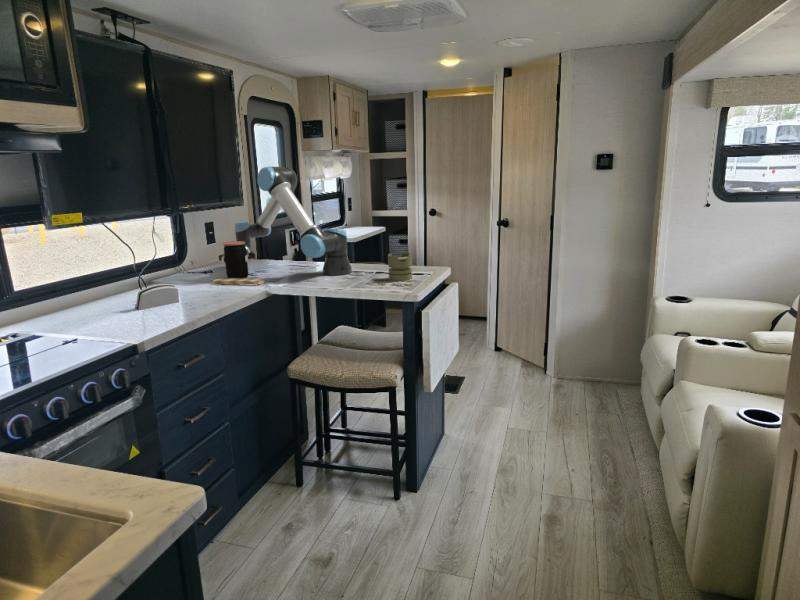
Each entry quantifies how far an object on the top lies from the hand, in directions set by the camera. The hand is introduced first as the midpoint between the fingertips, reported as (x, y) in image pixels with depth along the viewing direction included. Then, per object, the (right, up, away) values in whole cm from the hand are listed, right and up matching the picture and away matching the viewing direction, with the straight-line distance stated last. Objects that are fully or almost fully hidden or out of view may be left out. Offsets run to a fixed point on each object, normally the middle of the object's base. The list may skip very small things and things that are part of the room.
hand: (234, 259), depth 261 cm
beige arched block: (-17, -23, -44) cm, 53 cm away
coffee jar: (0, -9, +6) cm, 11 cm away
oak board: (+4, -12, -4) cm, 13 cm away
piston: (+82, -10, -6) cm, 83 cm away
